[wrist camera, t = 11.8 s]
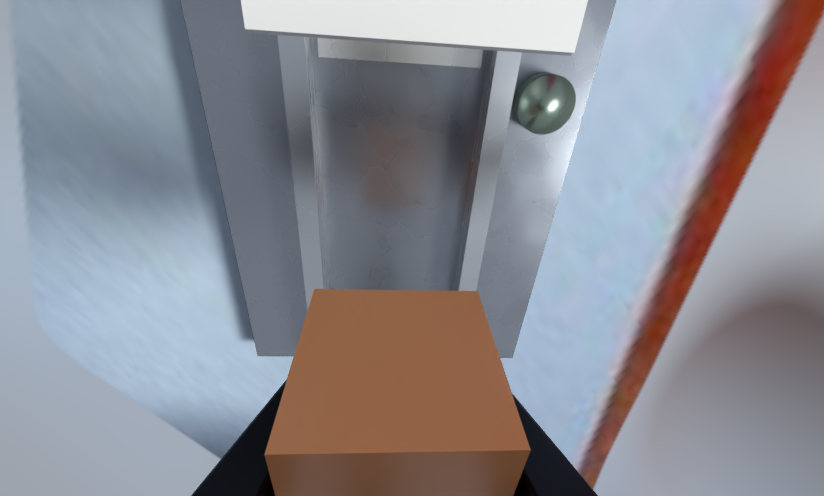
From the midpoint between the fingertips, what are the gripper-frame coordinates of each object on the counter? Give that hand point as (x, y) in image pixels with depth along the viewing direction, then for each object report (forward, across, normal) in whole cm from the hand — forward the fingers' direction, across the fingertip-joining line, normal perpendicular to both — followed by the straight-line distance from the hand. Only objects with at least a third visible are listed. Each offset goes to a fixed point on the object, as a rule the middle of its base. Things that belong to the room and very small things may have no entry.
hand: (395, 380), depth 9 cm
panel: (+9, 0, -2) cm, 9 cm away
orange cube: (+1, 0, 0) cm, 1 cm away
